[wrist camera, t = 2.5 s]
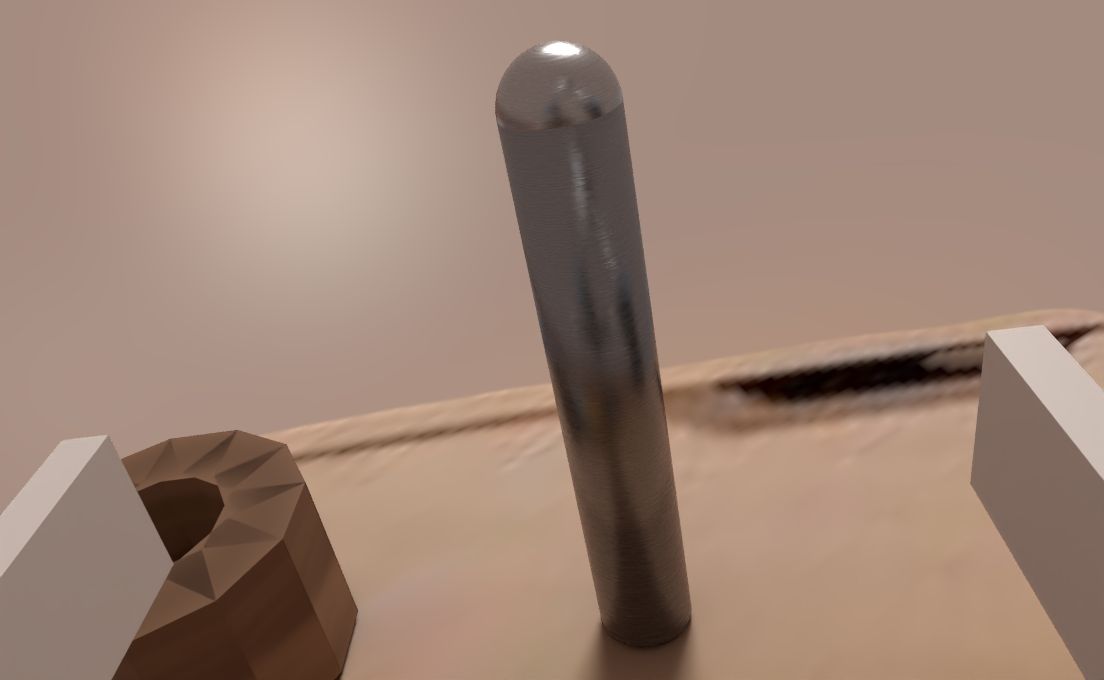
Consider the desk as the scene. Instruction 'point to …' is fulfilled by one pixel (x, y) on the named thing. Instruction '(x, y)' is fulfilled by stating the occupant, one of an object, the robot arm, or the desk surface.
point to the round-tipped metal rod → (597, 328)
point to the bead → (237, 566)
